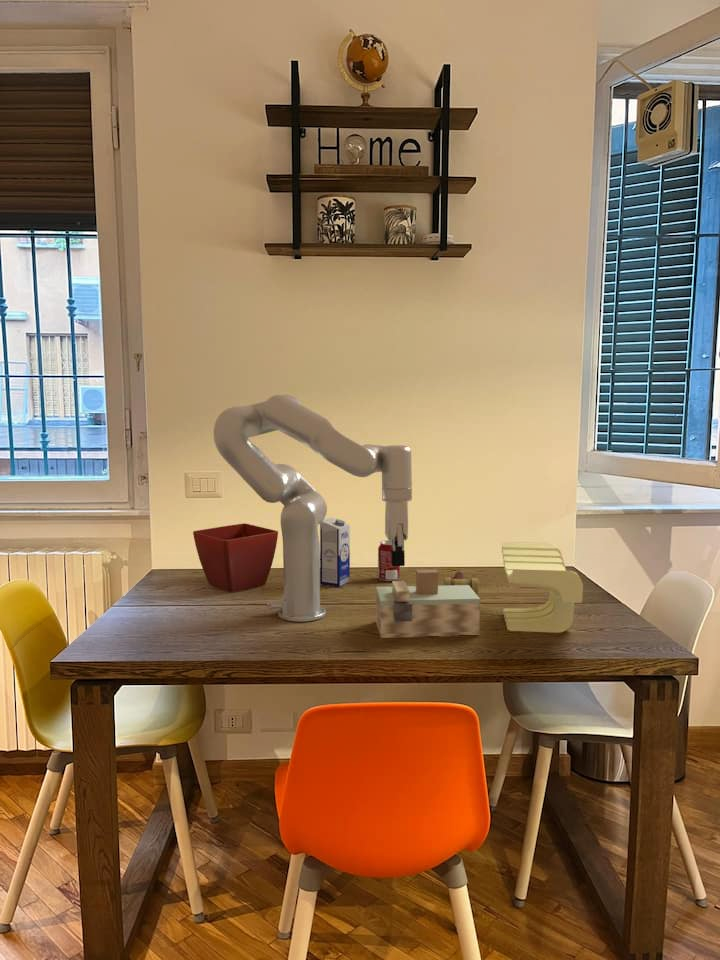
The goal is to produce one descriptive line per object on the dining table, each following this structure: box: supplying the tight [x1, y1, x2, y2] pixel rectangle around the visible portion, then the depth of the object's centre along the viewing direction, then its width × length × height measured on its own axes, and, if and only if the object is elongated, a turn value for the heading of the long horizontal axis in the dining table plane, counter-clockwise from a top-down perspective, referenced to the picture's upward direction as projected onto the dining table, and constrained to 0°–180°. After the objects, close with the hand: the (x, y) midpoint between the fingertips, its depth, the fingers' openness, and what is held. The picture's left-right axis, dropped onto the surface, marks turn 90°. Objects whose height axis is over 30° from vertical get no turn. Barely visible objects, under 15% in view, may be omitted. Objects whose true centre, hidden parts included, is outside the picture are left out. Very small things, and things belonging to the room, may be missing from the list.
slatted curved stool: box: [501, 541, 584, 634], centre depth 180 cm, size 30×16×18 cm, turn 174°
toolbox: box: [375, 591, 481, 639], centre depth 175 cm, size 24×15×9 cm, turn 94°
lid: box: [375, 568, 481, 606], centre depth 175 cm, size 24×12×7 cm, turn 94°
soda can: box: [377, 539, 401, 582], centre depth 221 cm, size 7×7×12 cm
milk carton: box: [319, 517, 351, 588], centre depth 217 cm, size 7×7×20 cm
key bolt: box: [391, 580, 410, 602], centre depth 172 cm, size 3×9×2 cm, turn 4°
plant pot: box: [192, 523, 279, 593], centre depth 214 cm, size 19×19×17 cm
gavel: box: [443, 571, 479, 595], centre depth 217 cm, size 21×5×10 cm
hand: (398, 565), depth 181 cm, fingers closed
